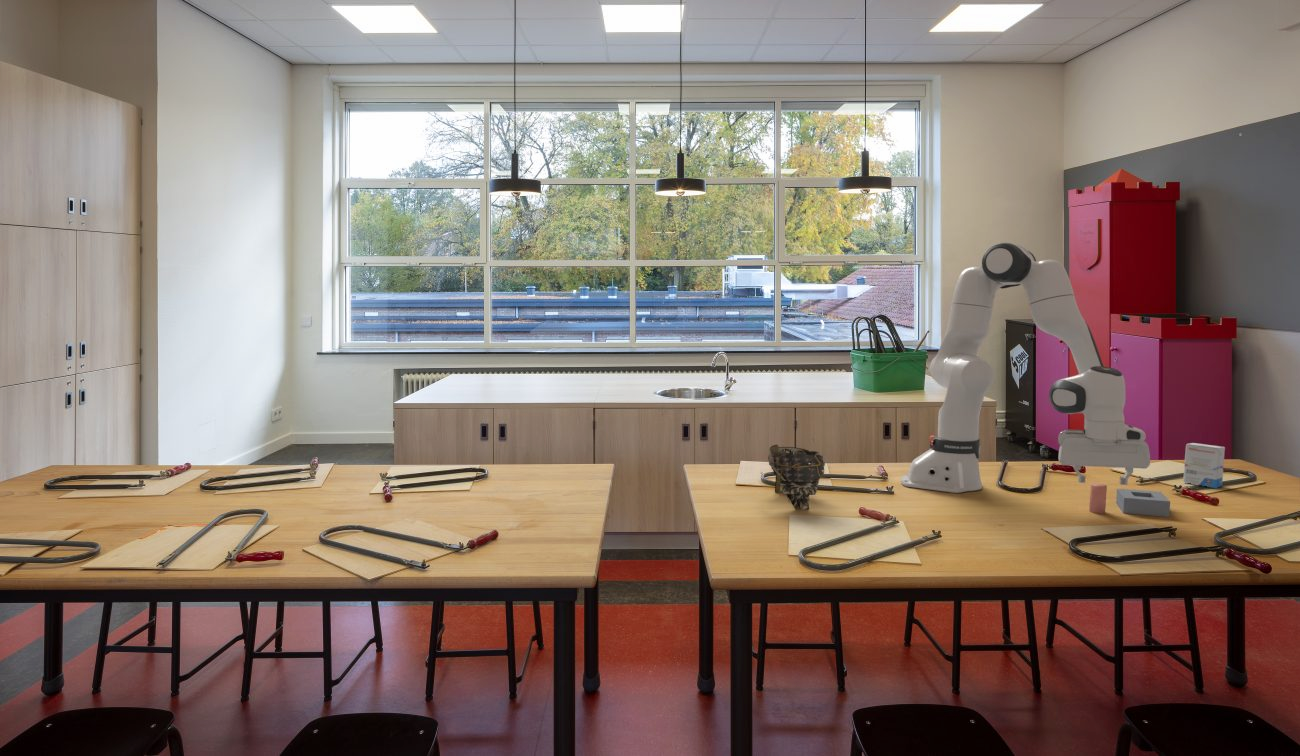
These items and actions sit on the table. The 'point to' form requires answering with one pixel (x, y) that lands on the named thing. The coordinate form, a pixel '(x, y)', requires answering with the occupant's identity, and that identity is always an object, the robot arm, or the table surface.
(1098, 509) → the peg
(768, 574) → the table surface
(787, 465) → the checked fabric bag
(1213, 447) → the ink box
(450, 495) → the table surface
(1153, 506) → the socket
